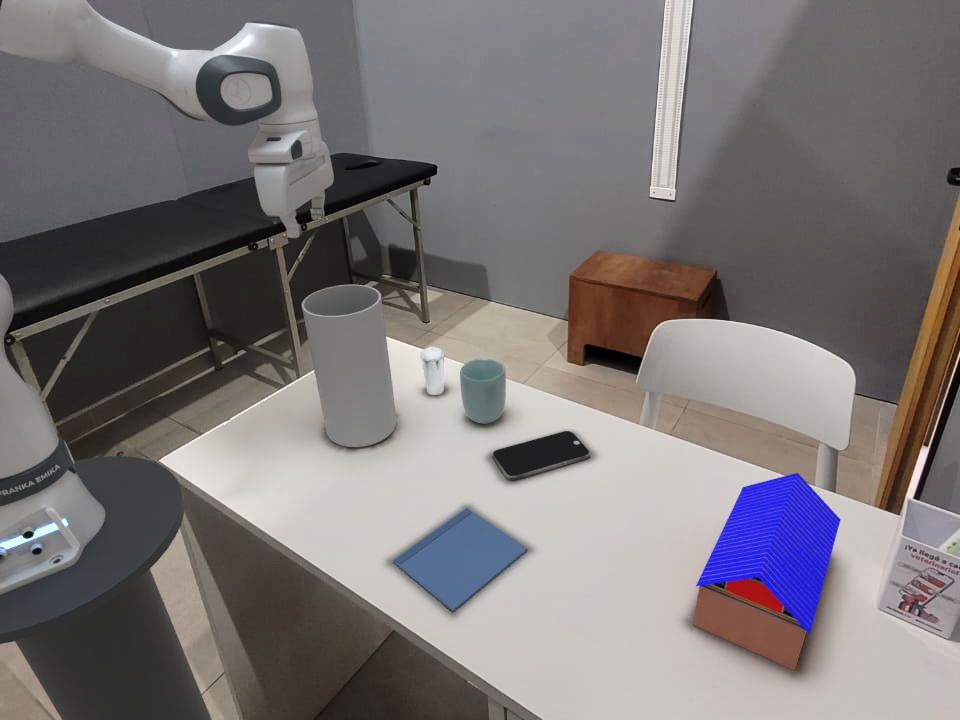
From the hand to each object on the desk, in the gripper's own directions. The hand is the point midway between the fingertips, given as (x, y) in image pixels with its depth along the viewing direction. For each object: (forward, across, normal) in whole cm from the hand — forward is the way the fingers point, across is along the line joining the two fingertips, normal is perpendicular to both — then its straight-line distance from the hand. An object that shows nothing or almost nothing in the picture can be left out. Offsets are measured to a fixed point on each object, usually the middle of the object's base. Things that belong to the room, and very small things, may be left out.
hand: (307, 227), depth 106 cm
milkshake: (+35, -6, +18) cm, 40 cm away
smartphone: (+35, +11, +40) cm, 54 cm away
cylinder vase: (+35, +7, +7) cm, 36 cm away
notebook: (+35, +34, +31) cm, 58 cm away
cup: (+35, +1, +28) cm, 45 cm away
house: (+35, +35, +70) cm, 85 cm away
